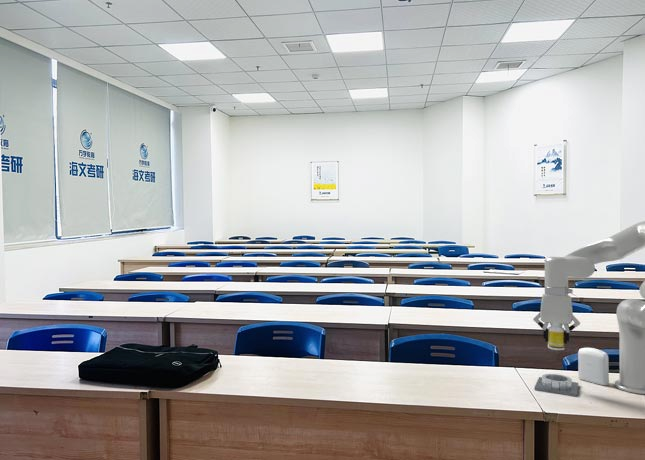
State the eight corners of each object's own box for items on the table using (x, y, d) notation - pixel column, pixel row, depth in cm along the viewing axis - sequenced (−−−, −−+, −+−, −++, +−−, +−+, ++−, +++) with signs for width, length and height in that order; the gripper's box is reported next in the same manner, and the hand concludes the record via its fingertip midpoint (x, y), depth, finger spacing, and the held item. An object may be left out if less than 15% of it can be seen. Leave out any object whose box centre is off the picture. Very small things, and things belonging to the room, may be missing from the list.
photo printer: (576, 379, 177) (576, 346, 177) (582, 377, 179) (582, 344, 179) (604, 386, 168) (604, 352, 168) (610, 384, 171) (610, 350, 170)
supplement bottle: (566, 350, 164) (566, 323, 164) (550, 350, 165) (550, 322, 165) (562, 347, 170) (562, 320, 170) (546, 346, 171) (546, 319, 171)
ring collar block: (578, 385, 170) (578, 375, 170) (576, 396, 159) (576, 386, 159) (539, 379, 176) (539, 370, 176) (534, 389, 165) (534, 380, 165)
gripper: (584, 291, 166) (584, 342, 166) (531, 288, 175) (531, 337, 175) (583, 294, 160) (583, 347, 160) (528, 291, 169) (528, 341, 169)
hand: (556, 341), depth 167 cm, fingers closed on supplement bottle, 5 cm apart
